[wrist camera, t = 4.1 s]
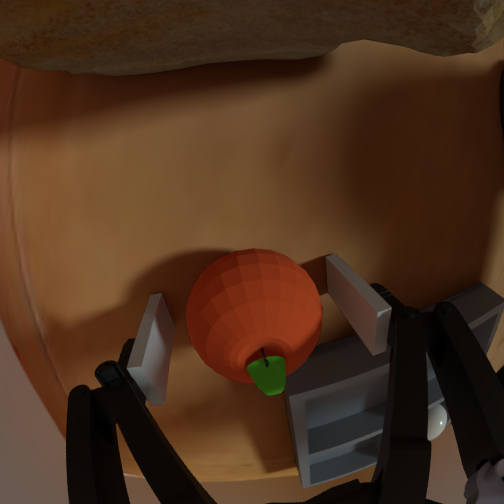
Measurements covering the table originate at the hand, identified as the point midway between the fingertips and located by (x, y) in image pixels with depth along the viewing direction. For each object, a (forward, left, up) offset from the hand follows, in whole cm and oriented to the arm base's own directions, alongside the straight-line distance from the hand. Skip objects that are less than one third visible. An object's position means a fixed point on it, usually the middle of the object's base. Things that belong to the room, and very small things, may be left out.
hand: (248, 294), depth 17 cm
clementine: (0, 0, 0) cm, 0 cm away
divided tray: (-12, +17, 0) cm, 21 cm away
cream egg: (-17, +22, +1) cm, 28 cm away
